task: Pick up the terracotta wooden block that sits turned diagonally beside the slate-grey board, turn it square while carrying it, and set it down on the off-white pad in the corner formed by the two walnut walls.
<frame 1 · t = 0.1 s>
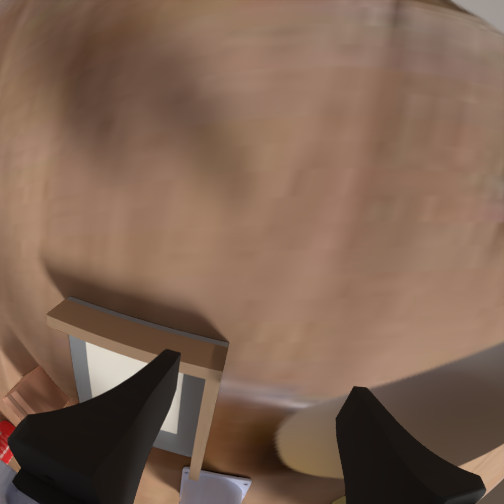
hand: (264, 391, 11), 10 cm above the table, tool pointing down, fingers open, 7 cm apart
block: (45, 387, 26), on the table
beverage can: (13, 429, 31), on the table
potted cactus: (363, 502, 30), on the table
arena: (140, 390, 25), on the table
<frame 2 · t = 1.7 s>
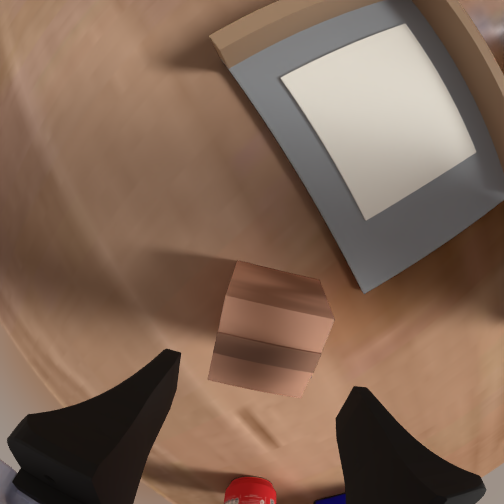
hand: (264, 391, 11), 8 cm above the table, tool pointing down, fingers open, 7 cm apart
block: (268, 307, 19), on the table
puzzle cube: (361, 500, 26), on the table
beverage can: (251, 484, 25), on the table
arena: (398, 118, 15), on the table
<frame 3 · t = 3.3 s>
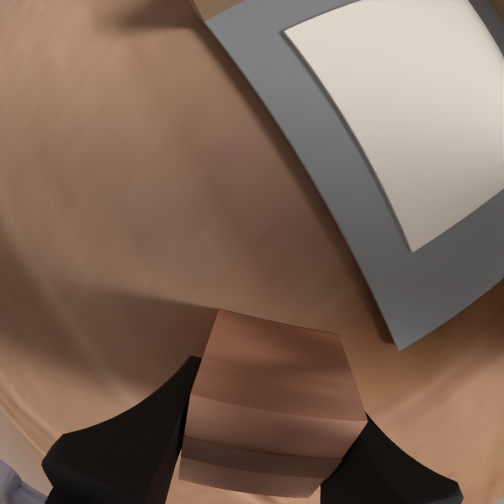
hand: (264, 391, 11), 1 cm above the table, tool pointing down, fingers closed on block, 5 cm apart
block: (265, 370, 13), on the table, touching gripper
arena: (452, 101, 9), on the table
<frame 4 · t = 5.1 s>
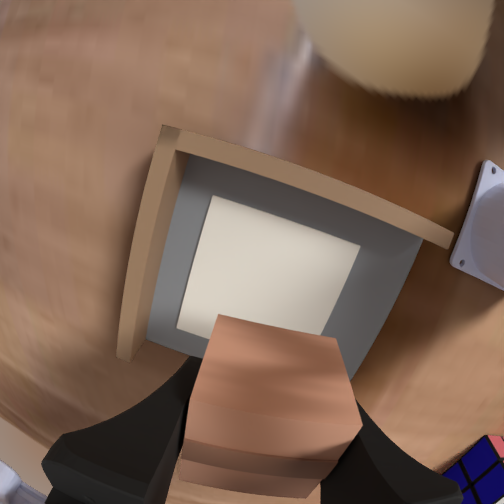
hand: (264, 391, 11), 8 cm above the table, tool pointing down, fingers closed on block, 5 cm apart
block: (263, 372, 13), point 7 cm above the table, touching gripper
puzzle cube: (475, 458, 25), on the table
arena: (274, 281, 19), on the table
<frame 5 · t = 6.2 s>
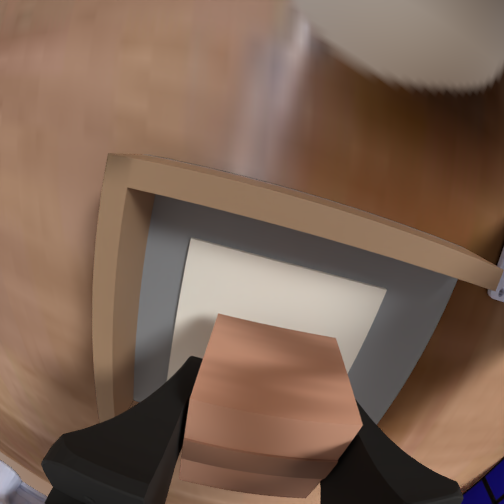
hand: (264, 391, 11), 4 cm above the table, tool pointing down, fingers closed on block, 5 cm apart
block: (263, 372, 13), point 2 cm above the table, touching gripper
puzzle cube: (499, 472, 21), on the table
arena: (278, 336, 15), on the table
when the fingers open (4 cm above the table, at t = 7.0 s): block drops 1 cm, resting on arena.
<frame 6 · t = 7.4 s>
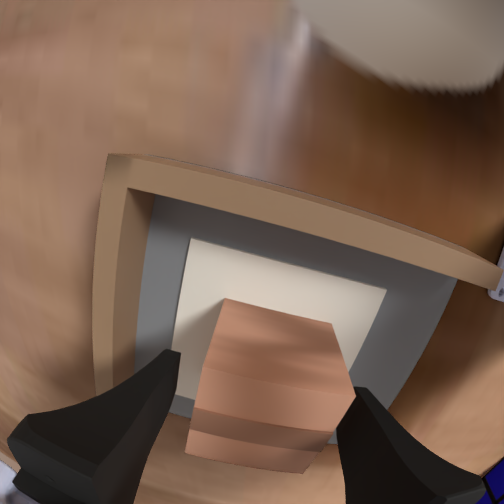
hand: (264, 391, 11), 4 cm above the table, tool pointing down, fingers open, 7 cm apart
block: (264, 355, 14), point 1 cm above the table, touching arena
puzzle cube: (499, 472, 21), on the table
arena: (278, 336, 15), on the table
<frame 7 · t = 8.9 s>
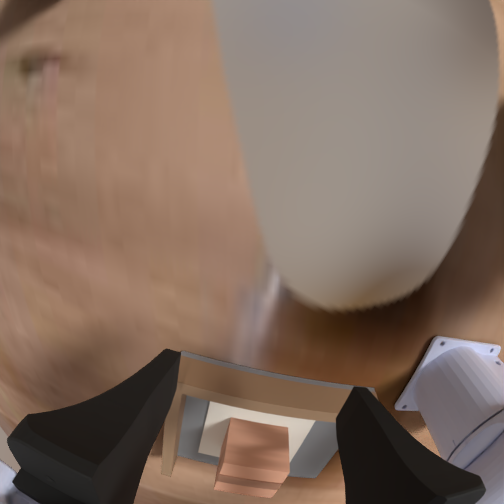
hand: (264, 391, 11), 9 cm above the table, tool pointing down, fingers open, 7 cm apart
block: (253, 439, 24), point 1 cm above the table, touching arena
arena: (260, 429, 24), on the table
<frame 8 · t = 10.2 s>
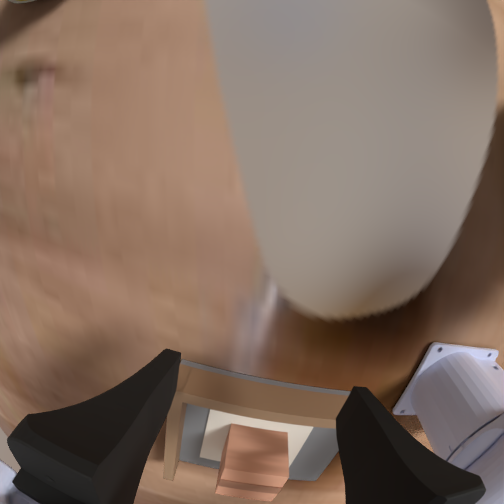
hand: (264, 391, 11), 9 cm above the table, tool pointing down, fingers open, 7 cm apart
block: (253, 443, 24), point 1 cm above the table, touching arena
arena: (260, 434, 24), on the table
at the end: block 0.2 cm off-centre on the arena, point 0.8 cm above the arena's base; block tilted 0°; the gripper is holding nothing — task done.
